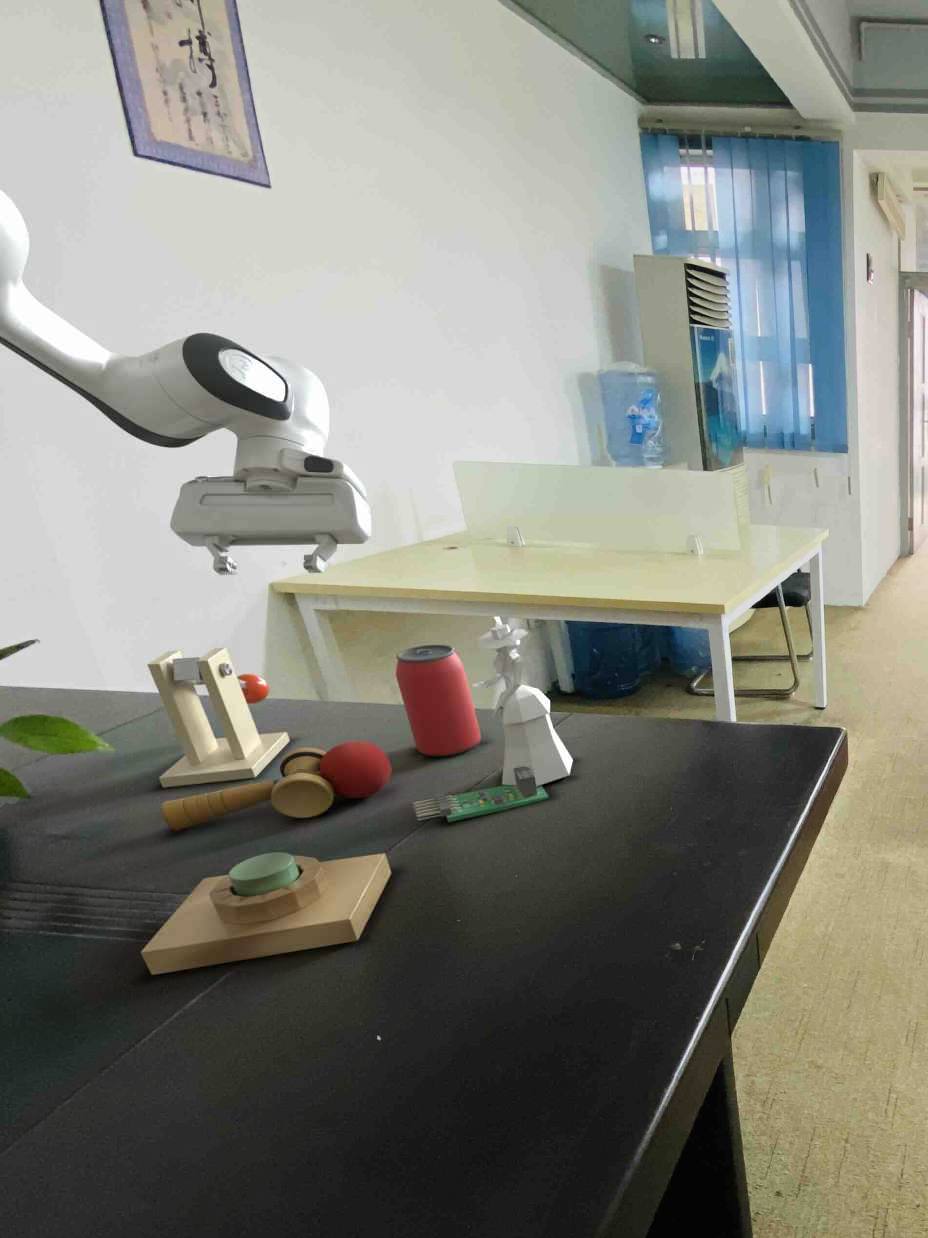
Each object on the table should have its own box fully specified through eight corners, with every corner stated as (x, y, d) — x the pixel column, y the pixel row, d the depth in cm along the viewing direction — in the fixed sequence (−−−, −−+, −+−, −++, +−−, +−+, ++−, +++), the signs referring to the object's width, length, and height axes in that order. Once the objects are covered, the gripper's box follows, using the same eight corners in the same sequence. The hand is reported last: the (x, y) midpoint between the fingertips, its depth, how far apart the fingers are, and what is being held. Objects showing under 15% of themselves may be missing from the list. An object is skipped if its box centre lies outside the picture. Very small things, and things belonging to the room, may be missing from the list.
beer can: (465, 731, 101) (442, 639, 96) (493, 744, 98) (470, 650, 93) (407, 748, 96) (379, 653, 91) (434, 764, 93) (406, 665, 88)
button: (227, 902, 63) (218, 883, 62) (248, 874, 66) (241, 856, 66) (289, 893, 64) (282, 874, 63) (307, 866, 68) (300, 848, 67)
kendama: (174, 863, 75) (396, 795, 83) (138, 802, 73) (369, 739, 81) (199, 837, 82) (403, 777, 90) (167, 781, 80) (379, 724, 88)
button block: (151, 975, 60) (129, 932, 59) (213, 899, 69) (195, 860, 67) (357, 941, 65) (343, 900, 63) (391, 873, 73) (379, 835, 71)
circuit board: (414, 804, 78) (407, 784, 82) (420, 832, 80) (413, 811, 83) (545, 777, 85) (534, 760, 89) (549, 803, 87) (538, 785, 90)
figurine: (485, 779, 90) (446, 620, 83) (553, 754, 96) (521, 605, 89) (523, 793, 86) (485, 629, 79) (590, 766, 93) (560, 613, 86)
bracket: (206, 748, 94) (164, 644, 89) (290, 740, 97) (253, 638, 91) (162, 787, 86) (112, 674, 80) (255, 777, 88) (212, 667, 83)
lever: (240, 707, 98) (237, 678, 98) (276, 704, 99) (274, 675, 99) (165, 687, 84) (163, 653, 85) (208, 684, 86) (206, 650, 86)
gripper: (165, 461, 99) (149, 560, 95) (357, 462, 104) (349, 556, 100) (200, 491, 105) (186, 586, 101) (380, 491, 110) (374, 581, 106)
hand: (269, 571), depth 101 cm, fingers open, 8 cm apart
